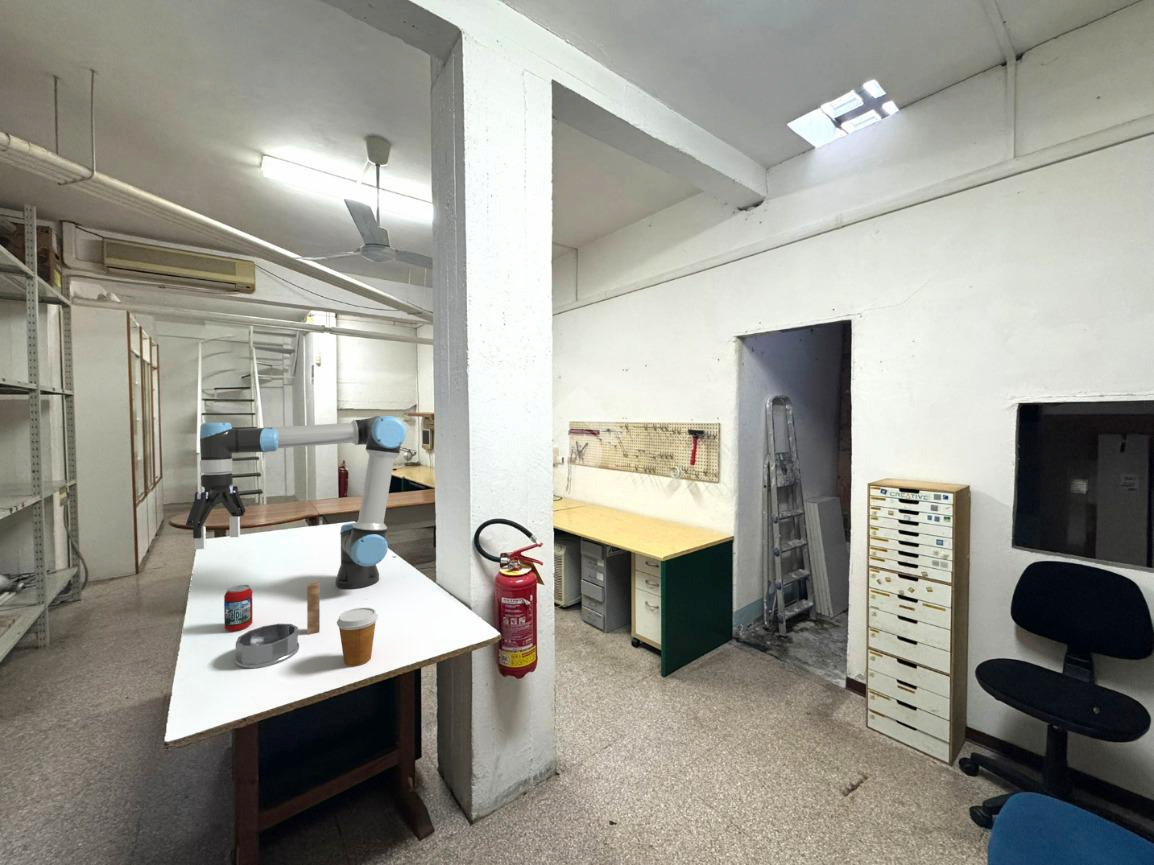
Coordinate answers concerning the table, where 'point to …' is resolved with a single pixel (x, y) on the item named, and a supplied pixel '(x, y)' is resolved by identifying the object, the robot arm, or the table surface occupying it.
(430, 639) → the table surface
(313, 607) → the long wooden beam
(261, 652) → the tin
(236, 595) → the beverage can
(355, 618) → the disposable coffee cup
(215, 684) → the table surface
